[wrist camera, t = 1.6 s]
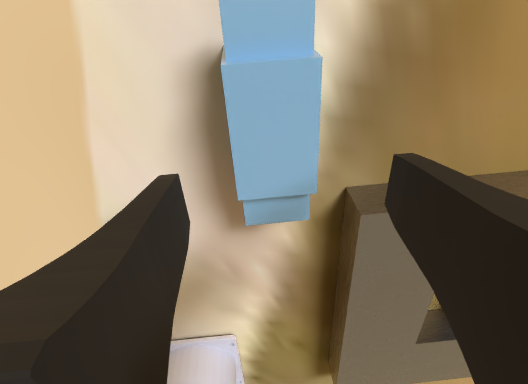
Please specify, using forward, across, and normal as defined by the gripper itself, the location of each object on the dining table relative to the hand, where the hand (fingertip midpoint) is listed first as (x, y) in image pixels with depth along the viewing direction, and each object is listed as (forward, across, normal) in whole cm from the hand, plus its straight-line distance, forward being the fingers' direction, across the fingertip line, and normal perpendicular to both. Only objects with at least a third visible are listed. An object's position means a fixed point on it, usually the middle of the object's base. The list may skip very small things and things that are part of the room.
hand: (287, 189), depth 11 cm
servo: (+9, 0, 0) cm, 9 cm away
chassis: (+8, -14, +17) cm, 24 cm away
